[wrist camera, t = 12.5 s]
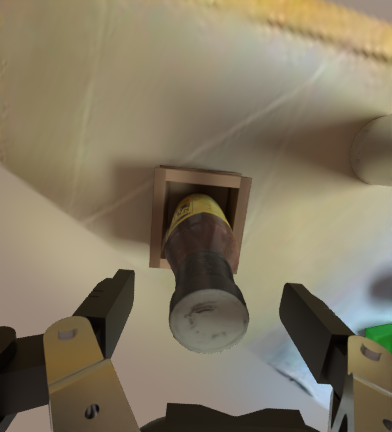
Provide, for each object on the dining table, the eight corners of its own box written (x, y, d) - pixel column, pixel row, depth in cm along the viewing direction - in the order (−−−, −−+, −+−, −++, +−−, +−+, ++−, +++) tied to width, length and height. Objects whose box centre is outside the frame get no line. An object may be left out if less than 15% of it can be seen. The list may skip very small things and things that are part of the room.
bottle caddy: (239, 173, 29) (255, 175, 22) (228, 253, 32) (238, 276, 25) (161, 165, 29) (152, 164, 22) (155, 247, 31) (146, 269, 24)
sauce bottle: (181, 186, 28) (161, 239, 9) (225, 197, 29) (296, 270, 9) (170, 230, 30) (133, 357, 10) (212, 240, 30) (250, 378, 11)
